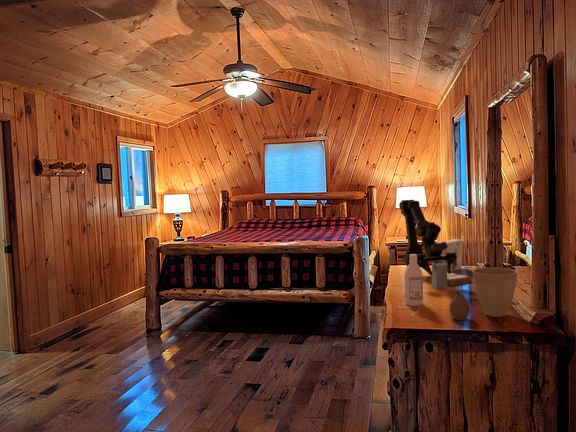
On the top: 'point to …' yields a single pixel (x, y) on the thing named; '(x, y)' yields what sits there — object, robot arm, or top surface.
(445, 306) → the top surface
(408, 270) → the bath foam
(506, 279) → the plant pot
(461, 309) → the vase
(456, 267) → the skincare box
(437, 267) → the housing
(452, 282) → the stand
